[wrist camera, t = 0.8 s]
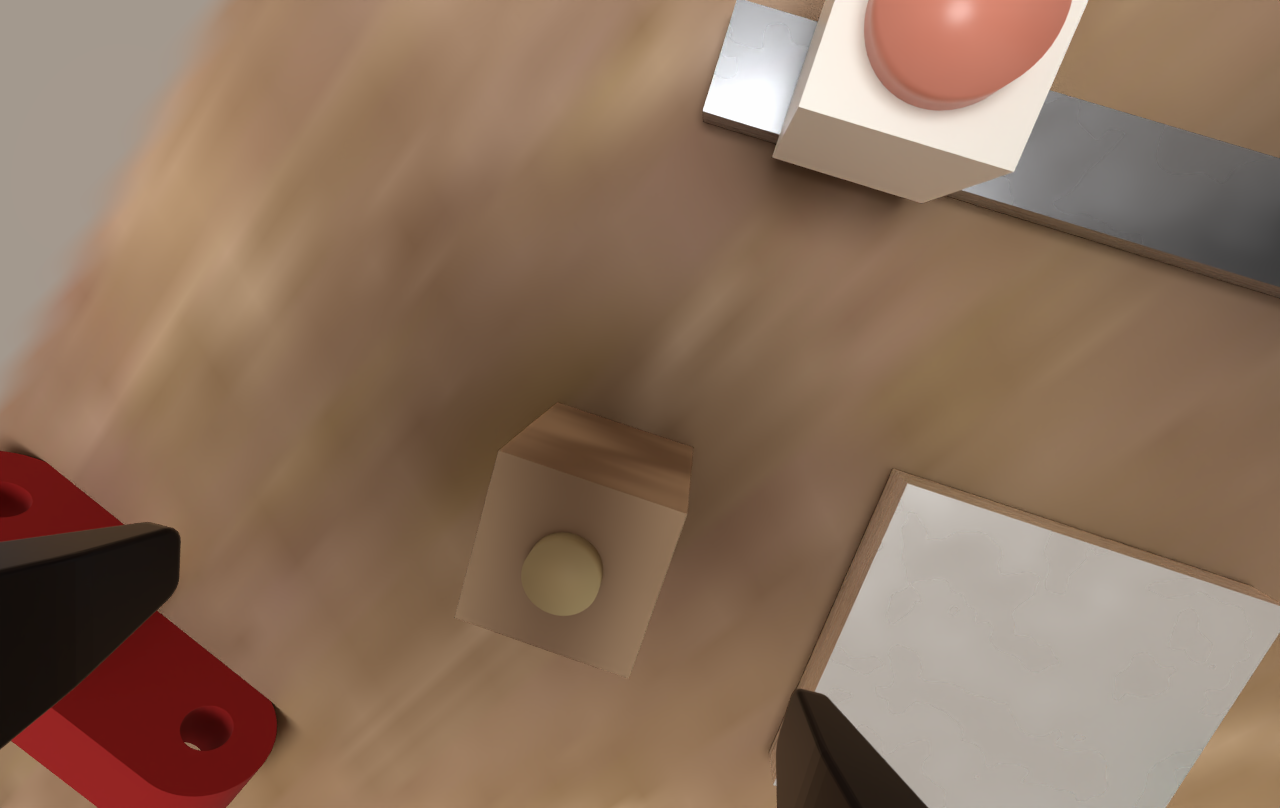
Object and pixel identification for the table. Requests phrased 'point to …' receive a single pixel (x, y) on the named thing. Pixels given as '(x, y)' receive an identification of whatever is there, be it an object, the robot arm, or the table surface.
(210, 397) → the table surface
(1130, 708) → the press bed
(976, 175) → the white rectangular block
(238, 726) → the mechanical linkage
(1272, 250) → the rail
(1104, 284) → the table surface
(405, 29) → the table surface
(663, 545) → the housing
